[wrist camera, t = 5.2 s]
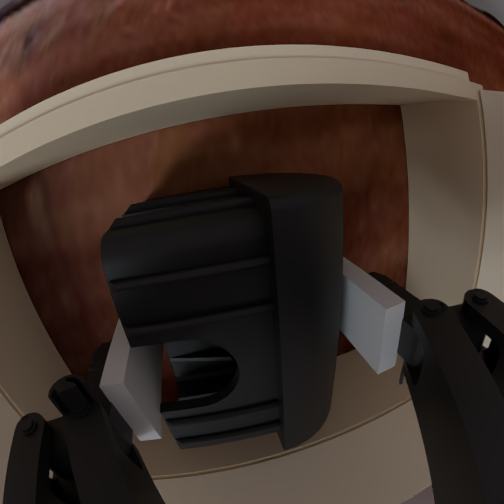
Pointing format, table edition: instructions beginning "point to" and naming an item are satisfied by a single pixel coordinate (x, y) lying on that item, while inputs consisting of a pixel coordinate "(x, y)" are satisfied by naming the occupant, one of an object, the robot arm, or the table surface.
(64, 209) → the table surface
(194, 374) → the end cap
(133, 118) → the carton
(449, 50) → the table surface
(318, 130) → the table surface
